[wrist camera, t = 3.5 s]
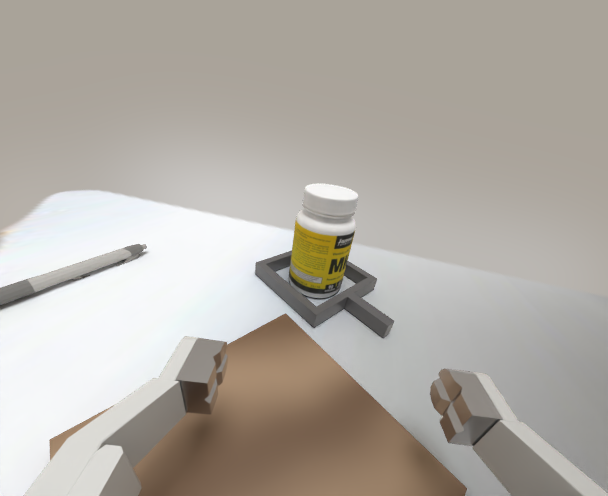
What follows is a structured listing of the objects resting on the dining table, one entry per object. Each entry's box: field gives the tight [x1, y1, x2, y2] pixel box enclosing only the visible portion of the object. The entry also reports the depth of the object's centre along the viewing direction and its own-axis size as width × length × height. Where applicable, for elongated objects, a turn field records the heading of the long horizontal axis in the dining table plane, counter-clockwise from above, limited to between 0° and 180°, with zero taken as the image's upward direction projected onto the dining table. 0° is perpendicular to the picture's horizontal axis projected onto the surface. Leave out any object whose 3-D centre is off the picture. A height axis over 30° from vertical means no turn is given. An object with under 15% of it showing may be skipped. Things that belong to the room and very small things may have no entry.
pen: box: [0, 244, 147, 305], centre depth 17 cm, size 1×14×1 cm, turn 148°
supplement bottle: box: [289, 184, 358, 298], centre depth 20 cm, size 5×5×8 cm
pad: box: [50, 314, 467, 496], centre depth 10 cm, size 12×12×1 cm
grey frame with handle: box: [255, 251, 394, 338], centre depth 21 cm, size 11×8×1 cm
